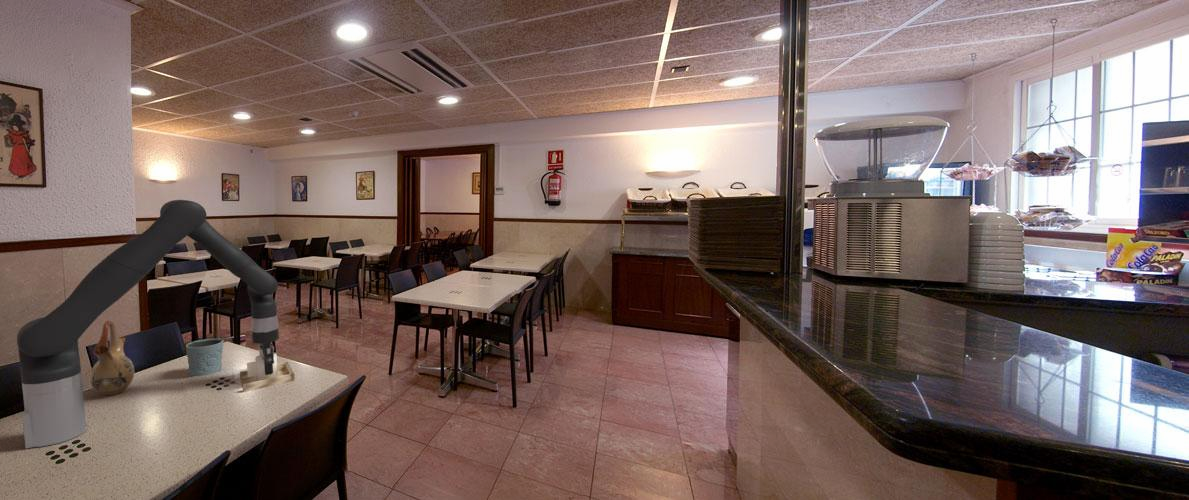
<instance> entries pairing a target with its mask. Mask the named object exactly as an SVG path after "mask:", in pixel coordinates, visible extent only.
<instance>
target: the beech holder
mask: <svg viewBox="0 0 1189 500" xmlns="http://www.w3.org/2000/svg"><path fill="white" fill-rule="evenodd" d="M277 372H278V377H274V378H269V379H265V380H260V381H257V379H256V376H252V377H248V373H247V370H246V371H241V372H240V379H239V380H240V383H241V386H242V391H243V393H247V392H250V391H255V390H258V389H259V390H260V389H264V388H268V387H273V386H276V385H277V386H278V385H280V384H285V383H291V382H295V373H294V371H293V369H292V367H291V366H290V364H289V362H286V361H285V362H281V363H277Z"/></svg>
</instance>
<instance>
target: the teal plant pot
mask: <svg viewBox="0 0 1189 500" xmlns="http://www.w3.org/2000/svg"><path fill="white" fill-rule="evenodd" d="M223 349H224V339H222V338H207V339H198V340H194V341H192V342H189V343H187V344H185V350H186V357H187V364H188V373H189V376H190V377H191V378H192V377H193V378H194V377H203V376H208V375H212V374H216V373H219V372H221V371H222V366H223V362H222V359H223Z"/></svg>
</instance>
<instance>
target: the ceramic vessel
mask: <svg viewBox="0 0 1189 500" xmlns="http://www.w3.org/2000/svg"><path fill="white" fill-rule="evenodd" d="M102 326H103V327H102V332H101V336H100V339H99V340H98V343H97V344H96V345H95V347H94V349H93V351H92V353H93V355H95V356H96V357H97V358H98V361H96V362H95V364H94V365H93V367H92V369H91V371H90V374H89V379H90V380H89V381H90V385H91V387H92V388H93V390H94V391H96V392H97V393H99V394H100V395H102V396H114V395H118V394H121V393H122V392H124V391H125V390H126V389H127V388H128V387H129V386H130V385H131V383H132V382H133V378H134V376H135V366H134V363H133V362H132V360H131V359H130V358H129V357H127V356H126V354H125V352H124V351H125V350H124V345H125V341H126V337H119V335H118V333H117V329H116V326H115V324H114V322H113V321H112V320H106V321H105V322H104V324H103V325H102ZM108 345H109V346H108Z"/></svg>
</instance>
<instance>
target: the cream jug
mask: <svg viewBox="0 0 1189 500" xmlns="http://www.w3.org/2000/svg"><path fill="white" fill-rule="evenodd" d="M277 356H278V354H277V353H276V352H274V364H273V373H272V374H269V375H265V365H264V360H262V358H261V355H260V354H259V355H256V356H255V357H254V359H255V361H251V362H247V363H246V368H247V373H248V377H252V376H256V379H257V381H260V380H265V379H269V378H274V377H278V372H277V364H278V358H277ZM266 360H267V361H271V359H266Z"/></svg>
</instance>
